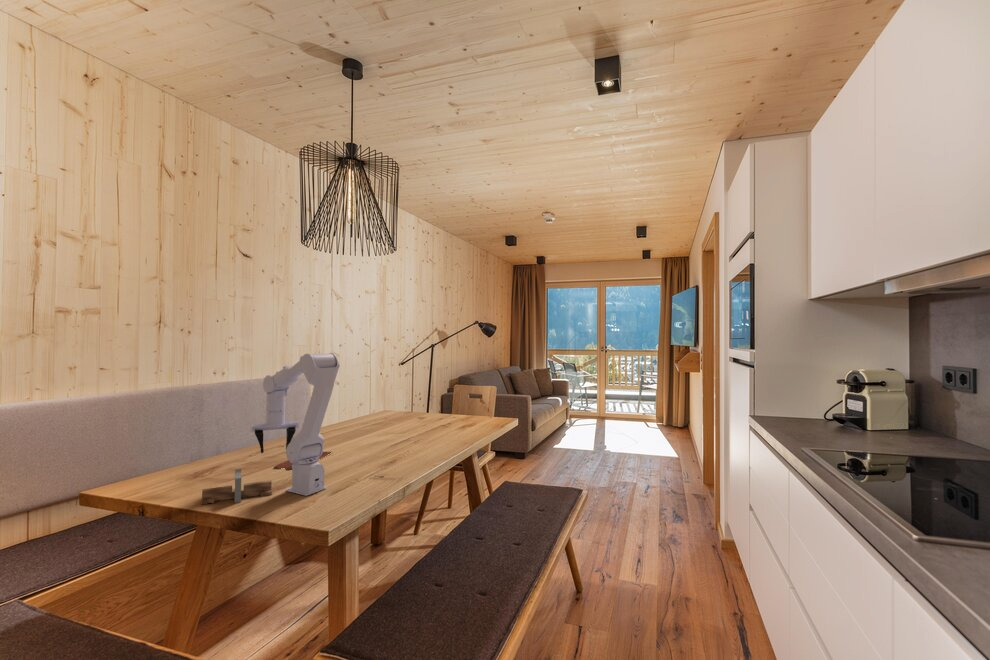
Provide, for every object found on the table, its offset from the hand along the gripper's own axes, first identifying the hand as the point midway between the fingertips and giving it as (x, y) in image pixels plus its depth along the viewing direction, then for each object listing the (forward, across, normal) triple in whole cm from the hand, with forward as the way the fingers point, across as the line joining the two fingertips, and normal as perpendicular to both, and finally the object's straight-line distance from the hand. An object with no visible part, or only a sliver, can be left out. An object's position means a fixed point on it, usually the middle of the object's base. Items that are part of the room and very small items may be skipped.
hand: (274, 451), depth 153 cm
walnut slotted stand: (+10, +11, +13) cm, 20 cm away
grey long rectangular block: (+10, +11, +13) cm, 20 cm away
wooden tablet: (+10, -13, -20) cm, 26 cm away
